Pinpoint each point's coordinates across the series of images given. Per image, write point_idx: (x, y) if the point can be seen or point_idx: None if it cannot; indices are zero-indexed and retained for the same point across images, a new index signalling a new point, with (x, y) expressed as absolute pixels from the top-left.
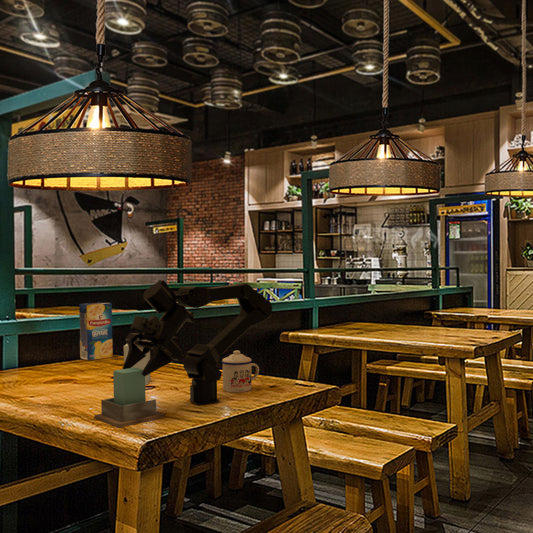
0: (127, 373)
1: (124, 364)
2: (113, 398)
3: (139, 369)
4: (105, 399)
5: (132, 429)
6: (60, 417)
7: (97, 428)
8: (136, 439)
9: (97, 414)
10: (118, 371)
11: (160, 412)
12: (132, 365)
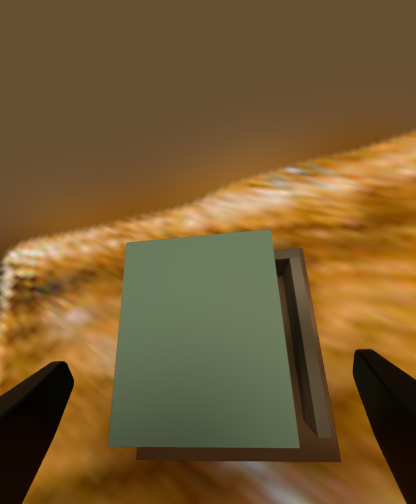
0: (126, 273)
1: (395, 375)
2: (295, 298)
3: (166, 418)
4: (295, 263)
5: (109, 287)
6: (377, 181)
7: (188, 221)
8: (35, 256)
9: (303, 258)
10: (214, 244)
11: (170, 458)
12: (401, 482)
